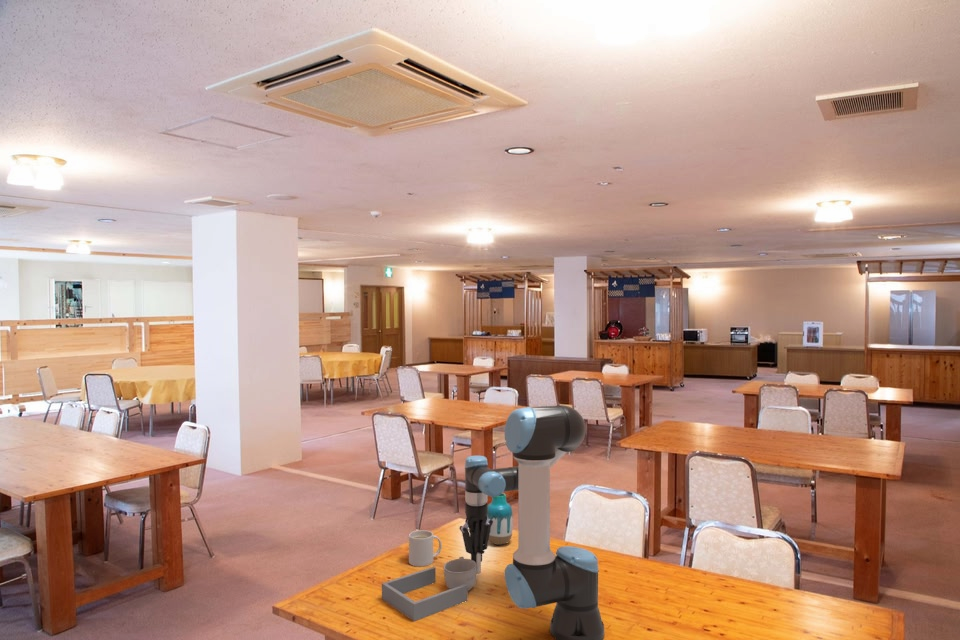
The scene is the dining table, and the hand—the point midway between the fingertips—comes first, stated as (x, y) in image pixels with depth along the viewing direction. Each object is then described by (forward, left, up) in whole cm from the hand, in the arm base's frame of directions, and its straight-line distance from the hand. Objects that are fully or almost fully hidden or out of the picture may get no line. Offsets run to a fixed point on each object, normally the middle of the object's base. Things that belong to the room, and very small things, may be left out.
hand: (476, 572), depth 209 cm
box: (0, +21, -3) cm, 22 cm away
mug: (+25, +4, -3) cm, 25 cm away
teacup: (0, +7, -3) cm, 7 cm away
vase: (+21, -29, -3) cm, 36 cm away
